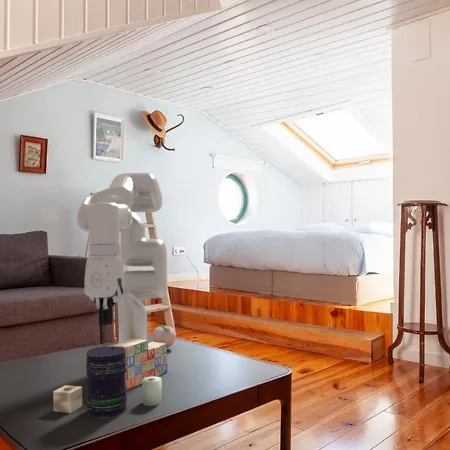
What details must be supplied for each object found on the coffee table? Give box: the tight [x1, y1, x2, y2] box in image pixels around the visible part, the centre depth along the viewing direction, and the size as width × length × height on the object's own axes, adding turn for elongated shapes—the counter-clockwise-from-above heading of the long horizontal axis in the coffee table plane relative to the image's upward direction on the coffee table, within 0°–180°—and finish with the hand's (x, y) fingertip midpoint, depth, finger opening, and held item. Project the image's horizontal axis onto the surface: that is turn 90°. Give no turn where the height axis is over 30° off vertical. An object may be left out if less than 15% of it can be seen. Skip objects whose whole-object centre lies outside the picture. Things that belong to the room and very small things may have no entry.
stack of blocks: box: [106, 338, 168, 390], centre depth 141 cm, size 21×6×12 cm, turn 149°
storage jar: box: [85, 345, 128, 419], centre depth 117 cm, size 10×10×15 cm
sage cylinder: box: [141, 376, 163, 407], centre depth 122 cm, size 5×5×6 cm
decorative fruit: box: [151, 324, 177, 349], centre depth 177 cm, size 9×8×10 cm
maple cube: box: [52, 384, 83, 414], centre depth 119 cm, size 5×5×5 cm
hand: (105, 324), depth 117 cm, fingers closed
